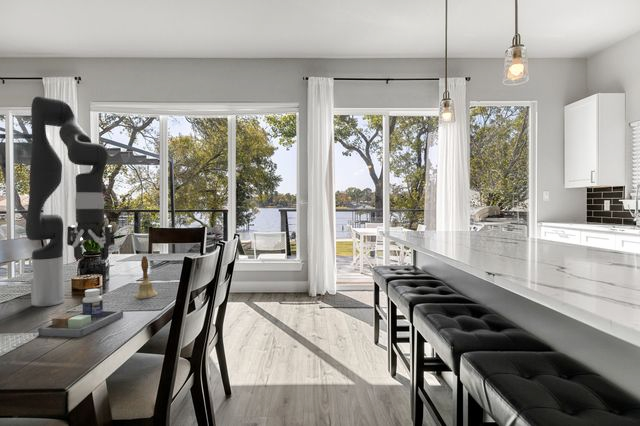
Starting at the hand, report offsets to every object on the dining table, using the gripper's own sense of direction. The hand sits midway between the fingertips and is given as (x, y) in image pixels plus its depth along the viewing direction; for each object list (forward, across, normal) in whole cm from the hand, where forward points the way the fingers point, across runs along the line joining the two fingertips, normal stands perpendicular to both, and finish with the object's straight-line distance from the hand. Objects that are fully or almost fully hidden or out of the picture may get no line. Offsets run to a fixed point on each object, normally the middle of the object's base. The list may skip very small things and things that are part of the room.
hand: (91, 259), depth 116 cm
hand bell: (+20, -3, +33) cm, 39 cm away
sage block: (+19, +3, -9) cm, 21 cm away
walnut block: (+19, -2, -9) cm, 21 cm away
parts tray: (+20, 0, -4) cm, 20 cm away
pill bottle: (+20, 0, 0) cm, 20 cm away
